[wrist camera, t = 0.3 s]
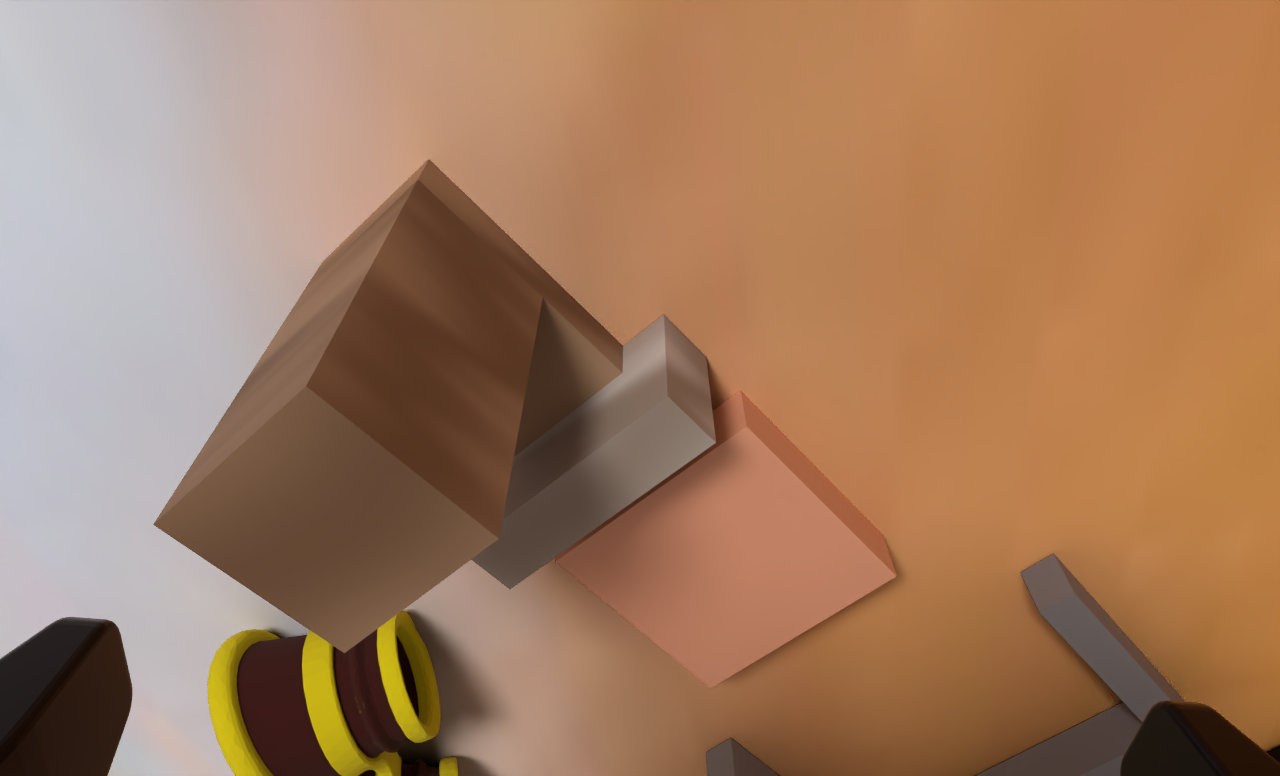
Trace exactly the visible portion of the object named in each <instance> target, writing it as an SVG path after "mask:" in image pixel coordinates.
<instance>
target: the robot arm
mask: <svg viewBox="0 0 1280 776" xmlns="http://www.w3.org/2000/svg"><path fill="white" fill-rule="evenodd" d="M131 703H132V683H131V679H130V674H129V670H128V665H127V661H126V657H125V652H124V648H123V643H122V639H121V634H120V632H119V629H118V627H117V626H116V625H115V623H113V622H112V621H109V620H104V619H91V618H78V617H66V618H62V619H59V620H57V621H55V622H53V623H52V624H50V625H48V626H47V627H46V628H44V629H43V630H41V631H40V632H38V633H37V634H35V635H34V636H33V637H31V638H30V639H28V640H27V641H25V642H24V643H22V644H21V645H20V646H18V647H17V648H15V649H14V650H12V651H11V652H9V653H8V654H6V655H5V656H4V657H2V658H1V659H0V776H107V775H108V773H109V770H110V767H111V764H112V761H113V758H114V756H115V753H116V750H117V747H118V744H119V741H120V739H121V736H122V733H123V730H124V727H125V724H126V722H127V719H128V716H129V712H130V708H131ZM1120 776H1280V748H1277V749H1275V750H1273V751H1271V752H1269V753H1266V752H1265V751H1264V750H1263V749H1262V748H1260V747H1259V746H1258V745H1257V744H1255V743H1254V742H1253V741H1252V740H1251V739H1249V738H1248V737H1247V736H1246V735H1245V734H1243V733H1242V732H1241V731H1240V730H1238V729H1237V728H1236V727H1235V726H1234V725H1232V724H1231V723H1230V722H1229V721H1227V720H1226V719H1225V718H1224V717H1223V716H1221V715H1220V714H1219V713H1218V712H1216V711H1215V710H1214V709H1212V708H1211V707H1209V706H1207V705H1204V704H1201V703H1195V702H1182V701H1169V700H1165V701H1160V702H1158V703H1156V704H1155V705H1153V706H1152V707H1151V709H1150V710H1149V712H1148V713H1147V715H1146V717H1145V719H1144V720H1143V722H1142V724H1141V726H1140V727H1139V729H1138V731H1137V733H1136V734H1135V736H1134V738H1133V739H1132V741H1131V743H1130V745H1129V746H1128V748H1127V750H1126V752H1125V753H1124V756H1123V758H1122V762H1121V767H1120Z"/></svg>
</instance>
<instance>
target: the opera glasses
mask: <svg viewBox="0 0 1280 776" xmlns="http://www.w3.org/2000/svg"><path fill="white" fill-rule="evenodd" d="M237 693H238V694H237ZM208 702H209V709H210V715H211V719H212V723H213V727H214V730H215V734H216V737H217V740H218V743H219V745H220V747H221V749H222V752H223V754H224V756H225V759H226V761H227V763H228V764H229V766H230V768H231V769H232V771H233V773H234V774H235V776H458V767H457V758H455V757H449V758H443V759H441V760H440V762H439V767H430V766H426V765H425V764H424V762H423V761H422V760H417V761H416V763H415V764H403V763H402V758H401V757H400V756H399V755H398V753H397V751H398V750H399V749H400V747H401V745H402V743H403V741H404V740H405V739H407V738H408V739H410V740H411V741H413V742H415V743H421V742H424V741H427V740H429V739H432V738H434V737H435V736H436V735H437V734H438V731H439V728H440V719H441V716H440V700H439V694H438V688H437V683H436V678H435V674H434V670H433V666H432V663H431V659H430V656H429V653H428V650H427V648H426V646H425V644H424V642H423V641H422V639H421V637H420V635H419V634H418V632H417V630H416V628H415V626H414V624H413V621H412V619H411V617H410V615H409V614H408V613H407V612H405V611H401V612H399V613H398V614H397V615H395V616H394V617H393V618H391V619H390V620H389V621H387V622H386V623H385V624H383V625H382V626H380V627H379V628H378V629H376V630H375V631H374V632H372V633H371V634H370V635H368V636H367V637H366V638H364V639H363V640H362V641H360V642H359V643H358V644H356V645H355V646H354V647H352V648H351V649H349V650H348V651H347V652H345V653H343V652H342V651H340V650H339V649H337V648H336V647H334V646H333V645H331V644H330V643H328V642H327V641H325V640H324V639H323V638H321V637H320V636H318V635H317V634H315V633H314V632H312V631H311V630H310V632H309V633H308V635H304V636H296V637H288V638H279V637H278V636H276V635H274V634H272V633H270V632H267V631H265V630H255V629H254V630H246V631H242V632H239V633H238V634H236V635H234V636H232V637H230V638H228V639H227V640H226V641H225V642H224V643H223V644H222V645H221V647H220V648H219V649H218V650H217V652H216V654H215V656H214V659H213V661H212V663H211V666H210V670H209V677H208Z"/></svg>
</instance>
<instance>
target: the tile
mask: <svg viewBox="0 0 1280 776" xmlns="http://www.w3.org/2000/svg"><path fill="white" fill-rule="evenodd" d="M712 412H713V421H714V429H715V438H716V443H715V444H713V445H712V446H711V447H709V448H708V449H706V450H705V451H704V452H702V453H701V454H699V455H698V456H697V457H695V458H694V459H692V460H691V461H690V462H688V463H687V464H685V465H684V466H683V467H681V468H680V469H678V470H677V471H676V472H674V473H673V474H671V475H670V476H669V477H667V478H666V479H664V480H663V481H661V482H660V483H659V484H657V485H656V486H654V487H653V488H652V489H650V490H649V491H647V492H646V493H645V494H643V495H642V496H640V497H639V498H638V499H636V500H635V501H633V502H632V503H631V504H629V505H628V506H626V507H625V508H624V509H622V510H621V511H619V512H618V513H617V514H615V515H614V516H612V517H611V518H609V519H608V520H607V521H605V522H604V523H602V524H601V525H600V526H598V527H597V528H595V529H594V530H593V531H591V532H590V533H588V534H587V535H586V536H584V537H583V538H581V539H580V540H579V541H577V542H576V543H574V544H573V545H572V546H570V547H569V548H567V549H566V550H565V551H563V552H562V553H560V554H559V555H558V556H556V559H555V562H556V563H557V564H559V565H560V566H561V567H562V568H563V569H565V570H566V571H567V572H568V573H570V574H571V575H572V576H573V577H575V578H576V579H577V580H578V581H579V582H581V583H582V584H583V585H584V586H586V587H587V588H588V589H589V590H591V591H592V592H593V593H594V594H595V595H597V596H598V597H599V598H600V599H602V600H603V601H604V602H605V603H606V604H608V605H609V606H610V607H611V608H613V609H614V610H615V611H616V612H618V613H619V614H620V615H621V616H622V617H624V618H625V619H626V620H627V621H629V622H630V623H631V624H632V625H633V626H635V627H636V628H637V629H638V630H640V631H641V632H642V633H643V634H645V635H646V636H647V637H648V638H649V639H651V640H652V641H653V642H654V643H656V644H657V645H658V646H659V647H660V648H662V649H663V650H664V651H665V652H667V653H668V654H669V655H670V656H672V657H673V658H674V659H675V660H676V661H678V662H679V663H680V664H681V665H683V666H684V667H685V668H686V669H687V670H689V671H690V672H691V673H692V674H694V675H695V676H696V677H697V678H699V679H700V680H701V681H702V682H703V683H705V684H706V685H707V686H708V687H710V688H712V687H714V686H715V685H717V684H719V683H720V682H722V681H724V680H725V679H727V678H729V677H730V676H732V675H734V674H735V673H737V672H739V671H740V670H742V669H744V668H745V667H747V666H749V665H750V664H752V663H754V662H755V661H757V660H759V659H760V658H762V657H764V656H765V655H767V654H769V653H770V652H772V651H774V650H775V649H777V648H779V647H780V646H782V645H783V644H785V643H787V642H788V641H790V640H792V639H793V638H795V637H797V636H798V635H800V634H802V633H803V632H805V631H807V630H808V629H810V628H812V627H813V626H815V625H817V624H818V623H820V622H822V621H823V620H825V619H827V618H828V617H830V616H832V615H833V614H835V613H837V612H838V611H840V610H842V609H843V608H845V607H847V606H848V605H850V604H852V603H853V602H855V601H857V600H858V599H860V598H862V597H863V596H865V595H867V594H868V593H870V592H872V591H873V590H875V589H877V588H878V587H880V586H882V585H883V584H885V583H887V582H888V581H890V580H892V579H893V578H895V577H897V575H896V572H895V569H894V566H893V563H892V560H891V557H890V554H889V551H888V548H887V545H886V542H885V539H884V536H883V534H882V533H881V532H880V531H879V530H878V529H877V528H876V527H875V526H874V525H873V524H872V523H871V522H870V521H869V520H868V519H867V518H866V517H865V516H864V515H863V514H862V513H861V512H860V511H859V510H858V509H857V508H856V507H855V506H854V505H853V504H852V503H851V502H850V501H849V500H848V499H847V498H846V497H845V496H844V495H843V494H842V493H841V492H840V491H839V490H838V489H837V488H836V487H835V486H834V485H833V484H832V483H831V482H830V481H829V480H828V479H827V478H826V477H825V475H824V474H823V473H822V472H821V471H820V470H819V469H818V468H817V467H816V466H815V465H814V464H813V463H812V462H811V461H810V460H809V459H808V458H807V457H806V456H805V455H804V454H803V453H802V452H801V451H800V450H799V449H798V448H797V447H796V446H795V445H794V444H793V443H792V442H791V441H790V440H789V439H788V438H787V437H786V436H785V435H784V434H783V433H782V432H781V431H780V430H779V429H778V428H777V427H776V426H775V425H774V424H773V423H772V422H771V421H770V420H769V419H768V418H767V417H766V416H765V415H764V414H763V413H762V412H761V411H760V410H759V409H758V407H757V406H756V405H755V404H754V403H753V402H752V401H751V400H750V399H749V398H748V397H747V396H746V395H745V394H744V393H743V392H742V391H741V390H740V391H739V392H737V393H736V394H734V395H733V396H732V397H730V398H729V399H728V400H726V401H725V402H723V403H722V404H721V405H719V406H718V407H716V408H715V409H714V410H712Z"/></svg>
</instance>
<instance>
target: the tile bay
mask: <svg viewBox="0 0 1280 776" xmlns="http://www.w3.org/2000/svg"><path fill="white" fill-rule="evenodd" d="M1020 573H1021V575H1022V577H1023V579H1024V581H1025V583H1026V585H1027V587H1028V590H1029V592H1030V594H1031V596H1032V598H1033V600H1034V602H1035V604H1036V606H1037V608H1038V611H1039V613H1040V614H1041V615H1042V616H1043V617H1044V618H1045V619H1046V620H1047V621H1048V622H1049V623H1050V624H1051V625H1052V627H1053V628H1054V629H1055V630H1056V631H1057V632H1058V633H1059V634H1060V635H1061V636H1062V637H1063V638H1064V639H1065V640H1066V641H1067V643H1068V644H1069V645H1070V646H1071V647H1072V648H1073V649H1074V650H1075V651H1076V652H1077V653H1078V654H1079V655H1080V656H1081V657H1082V659H1083V660H1084V661H1085V662H1086V663H1087V664H1088V665H1089V666H1090V667H1091V668H1092V669H1093V670H1094V671H1095V672H1096V673H1097V674H1098V676H1099V677H1100V678H1101V679H1102V680H1103V681H1104V682H1105V683H1106V684H1107V685H1108V686H1109V687H1110V688H1111V689H1112V690H1113V692H1114V693H1115V694H1116V695H1117V696H1118V697H1119V698H1120V699H1121V700H1122V701H1123V702H1122V703H1120V704H1118V705H1116V706H1114V707H1112V708H1110V709H1108V710H1106V711H1104V712H1102V713H1100V714H1098V715H1096V716H1094V717H1092V718H1090V719H1088V720H1086V721H1084V722H1082V723H1080V724H1078V725H1076V726H1074V727H1072V728H1070V729H1068V730H1066V731H1064V732H1062V733H1060V734H1058V735H1056V736H1054V737H1052V738H1050V739H1048V740H1046V741H1044V742H1042V743H1040V744H1038V745H1036V746H1034V747H1032V748H1030V749H1028V750H1026V751H1024V752H1022V753H1020V754H1018V755H1016V756H1014V757H1012V758H1010V759H1008V760H1006V761H1004V762H1002V763H1000V764H998V765H996V766H994V767H992V768H990V769H988V770H986V771H984V772H982V773H980V774H978V775H976V776H1120V767H1121V762H1122V758H1123V756H1124V753H1125V752H1126V750H1127V748H1128V746H1129V745H1130V743H1131V741H1132V739H1133V738H1134V736H1135V734H1136V733H1137V731H1138V729H1139V727H1140V726H1141V724H1142V722H1143V720H1144V719H1145V717H1146V715H1147V713H1148V712H1149V710H1150V709H1151V707H1152V706H1153V705H1155V704H1156V703H1158V702H1160V701H1165V700H1169V701H1182V702H1184V700H1183V699H1182V697H1181V696H1180V695H1179V694H1178V693H1177V692H1176V691H1175V689H1174V688H1173V687H1172V686H1171V685H1170V684H1169V683H1168V682H1167V680H1166V679H1165V678H1164V677H1163V676H1162V675H1161V674H1160V673H1159V671H1158V670H1157V669H1156V668H1155V667H1154V666H1153V665H1152V664H1151V662H1150V661H1149V660H1148V659H1147V658H1146V657H1145V656H1144V655H1143V654H1142V652H1141V651H1140V650H1139V649H1138V648H1137V647H1136V646H1135V645H1134V643H1133V642H1132V641H1131V640H1130V639H1129V638H1128V637H1127V636H1126V634H1125V633H1124V632H1123V631H1122V630H1121V629H1120V628H1119V627H1118V625H1117V624H1116V623H1115V622H1114V621H1113V620H1112V619H1111V618H1110V616H1109V615H1108V614H1107V613H1106V612H1105V611H1104V610H1103V609H1102V607H1101V606H1100V605H1099V604H1098V603H1097V602H1096V601H1095V600H1094V598H1093V597H1092V596H1091V595H1090V594H1089V593H1088V592H1087V591H1086V589H1085V588H1084V587H1083V586H1082V585H1081V584H1080V583H1079V582H1078V580H1077V579H1076V578H1075V577H1074V576H1073V575H1072V574H1071V573H1070V571H1069V570H1068V569H1067V568H1066V567H1065V566H1064V565H1063V564H1062V562H1061V561H1060V560H1059V559H1058V558H1057V557H1056V556H1055V555H1054V554H1052V555H1050V556H1048V557H1047V558H1045V559H1043V560H1041V561H1040V562H1038V563H1036V564H1034V565H1033V566H1031V567H1029V568H1027V569H1026V570H1024V571H1022V572H1020ZM706 763H707V776H779V775H778V774H776V773H775V772H774V771H773V770H771V769H770V768H769V767H767V766H766V765H765V764H764V763H762V762H761V761H760V760H758V759H757V758H756V757H755V756H753V755H752V754H751V753H750V752H748V751H747V750H746V749H744V748H743V747H742V746H741V745H739V744H738V743H737V742H735V741H734V740H733V739H732V738H730V739H728V740H727V741H725V742H723V743H721V744H720V745H718V746H716V747H714V748H713V749H711V750H709V751H707V752H706Z"/></svg>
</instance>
